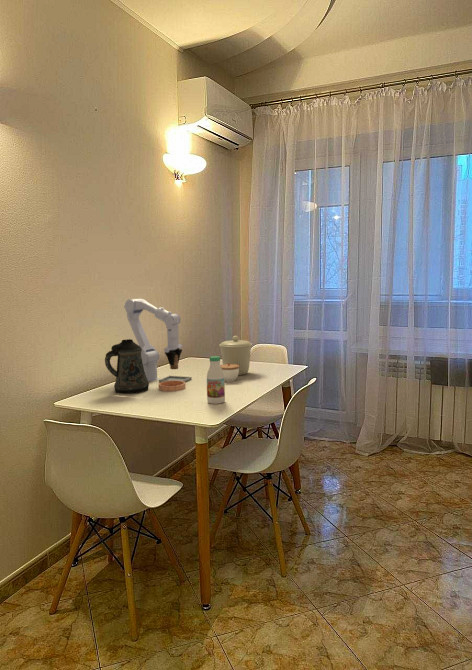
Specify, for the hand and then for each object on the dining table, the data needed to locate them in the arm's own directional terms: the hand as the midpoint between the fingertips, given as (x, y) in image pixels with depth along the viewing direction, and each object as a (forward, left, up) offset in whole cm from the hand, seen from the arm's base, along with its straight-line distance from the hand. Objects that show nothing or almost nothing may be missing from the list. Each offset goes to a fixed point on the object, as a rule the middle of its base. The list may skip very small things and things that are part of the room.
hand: (174, 364), depth 263 cm
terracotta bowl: (+5, -12, -10) cm, 16 cm away
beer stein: (-12, -23, -10) cm, 28 cm away
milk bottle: (+36, -28, -10) cm, 47 cm away
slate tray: (-1, +2, -10) cm, 10 cm away
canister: (+21, +31, -10) cm, 39 cm away
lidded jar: (+24, +14, -10) cm, 30 cm away
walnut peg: (0, 0, -2) cm, 2 cm away
